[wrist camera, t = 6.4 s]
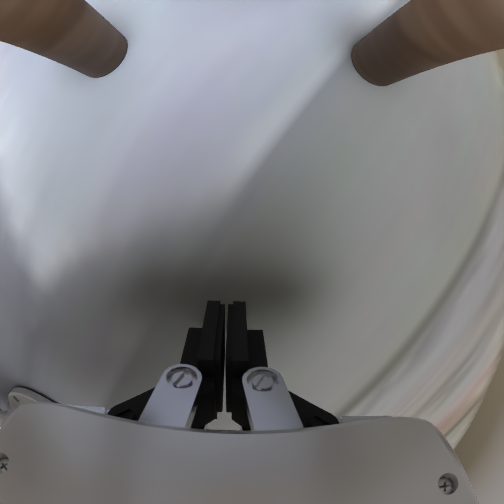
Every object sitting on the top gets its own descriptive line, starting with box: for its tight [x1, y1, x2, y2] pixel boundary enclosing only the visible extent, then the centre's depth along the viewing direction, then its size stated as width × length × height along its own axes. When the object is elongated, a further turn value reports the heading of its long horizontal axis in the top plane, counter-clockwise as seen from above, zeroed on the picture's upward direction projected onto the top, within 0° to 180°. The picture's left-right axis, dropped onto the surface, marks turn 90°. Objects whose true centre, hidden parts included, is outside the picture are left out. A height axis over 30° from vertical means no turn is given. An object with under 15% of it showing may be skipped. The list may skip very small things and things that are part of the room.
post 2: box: [352, 0, 504, 86], centre depth 5 cm, size 3×3×9 cm
